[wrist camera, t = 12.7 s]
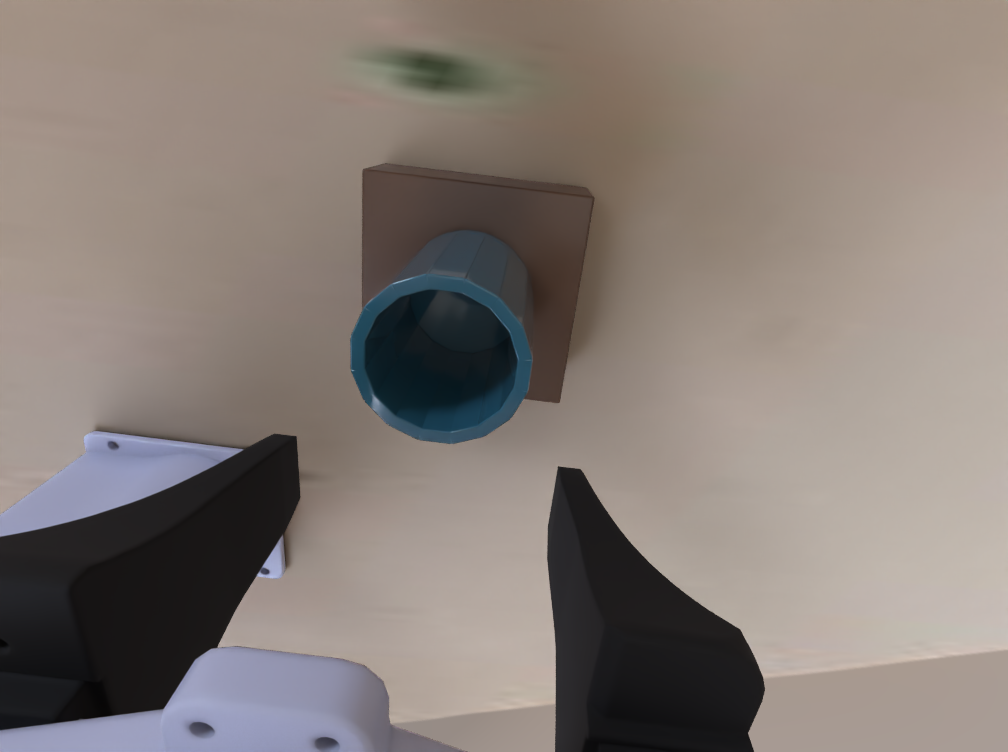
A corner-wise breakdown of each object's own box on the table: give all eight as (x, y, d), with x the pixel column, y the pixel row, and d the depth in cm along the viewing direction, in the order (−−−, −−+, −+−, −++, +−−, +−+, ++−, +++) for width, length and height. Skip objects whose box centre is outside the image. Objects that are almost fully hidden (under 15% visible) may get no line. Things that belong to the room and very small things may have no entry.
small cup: (401, 347, 21) (350, 432, 16) (406, 222, 19) (349, 263, 14) (524, 362, 21) (519, 453, 16) (541, 238, 19) (543, 287, 14)
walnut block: (380, 352, 25) (361, 379, 22) (384, 163, 22) (361, 168, 19) (557, 373, 25) (559, 404, 22) (587, 187, 21) (595, 196, 19)
